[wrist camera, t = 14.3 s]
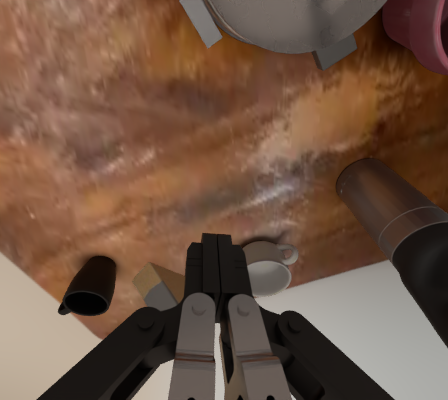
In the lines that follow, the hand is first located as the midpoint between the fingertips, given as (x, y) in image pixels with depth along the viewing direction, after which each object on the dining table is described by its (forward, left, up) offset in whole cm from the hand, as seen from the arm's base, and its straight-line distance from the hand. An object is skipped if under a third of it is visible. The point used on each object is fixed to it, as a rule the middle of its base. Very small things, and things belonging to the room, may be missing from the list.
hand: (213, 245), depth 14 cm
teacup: (-16, +29, -29) cm, 44 cm away
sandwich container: (+4, +42, -29) cm, 52 cm away
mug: (+20, +38, -29) cm, 52 cm away
